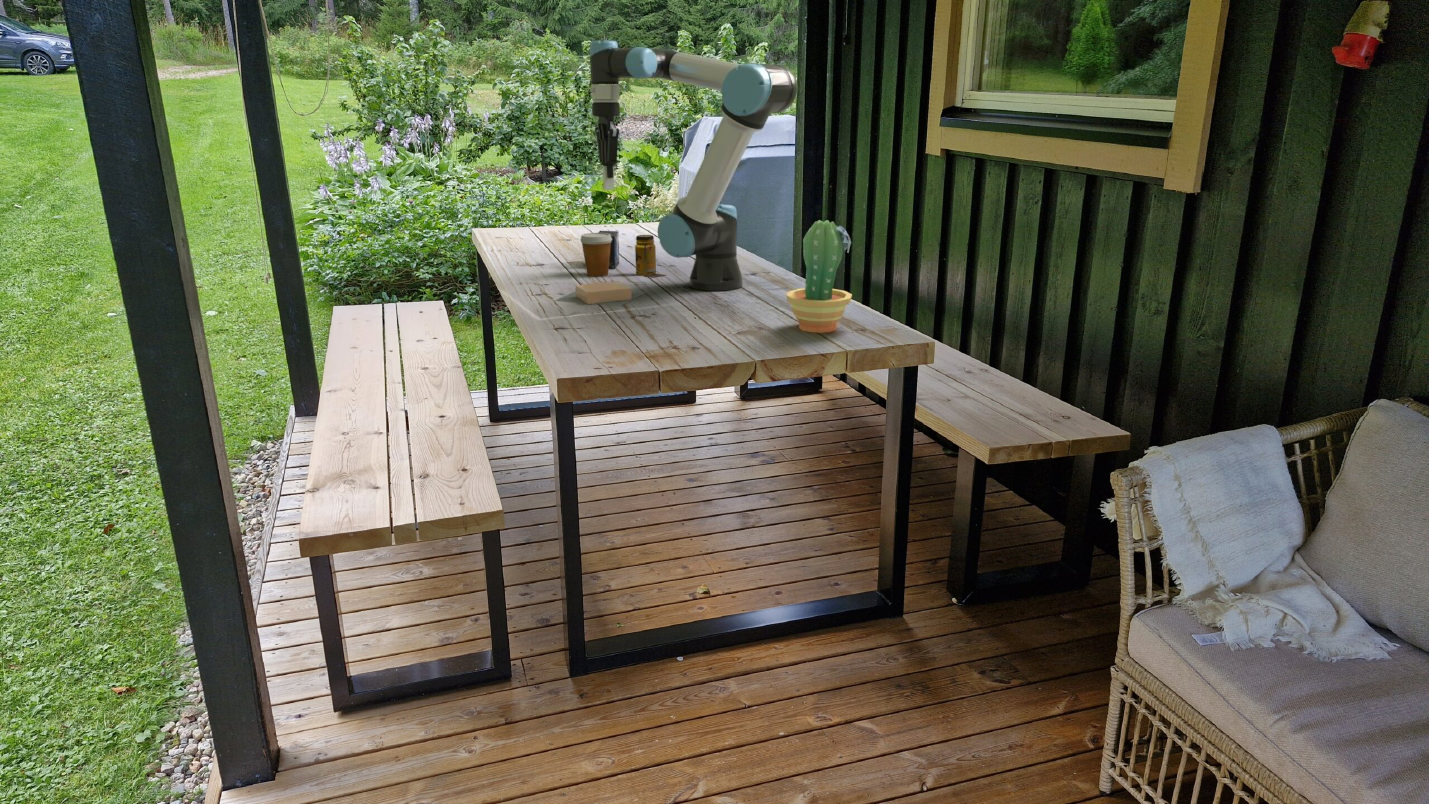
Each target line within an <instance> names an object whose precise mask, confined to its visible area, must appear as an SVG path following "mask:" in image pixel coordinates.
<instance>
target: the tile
mask: <svg viewBox="0 0 1429 804" xmlns="http://www.w3.org/2000/svg"><path fill="white" fill-rule="evenodd" d="M574 286H575V289H574V292H576V297H578V298H579V299H581V300H583V301H584V302H586V303H585V304H588V305H597V304H596V303H605V302H614V301H623V300H629V299H631V291H632V287H630V286H628V285H626V284H624V283H622V282H620V281H617V280H616V281H606V282H598V283H597V282H595V283H587V284H586V283H585V284H576V285H574Z"/></svg>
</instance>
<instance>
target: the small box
mask: <svg viewBox="0 0 1429 804" xmlns="http://www.w3.org/2000/svg"><path fill="white" fill-rule="evenodd" d="M597 233H608V234H610V235H611V238H612V240H611V246H610V258H609V270H613V269H614V270H615V269H617V267H618V265H619V264H620V236H619V234H620V233H619V230H616V231H615V230H599V231H598V232H597Z"/></svg>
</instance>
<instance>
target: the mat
mask: <svg viewBox="0 0 1429 804" xmlns="http://www.w3.org/2000/svg"><path fill="white" fill-rule="evenodd" d="M646 293H647V292H646V291H633V290H631V299H629V300H623V301H614V302H605V303H596V304H595V305H604V306H614V307H616V306H617V307H618V306H619V307H622V306H624V305H625V304H628V303H629V302H631V301H632V300H635V299H637V298H638V297H641V296H642V295H644V294H646ZM554 302H566V303H577V304H578V303H580V304H587V303H586V302H584V301H583V300H581V299H579V298H578V297H576V292H575V291H573V292H571V293H568V294H566V295H564V296H562V297H559V298H557V299H555V300H554Z"/></svg>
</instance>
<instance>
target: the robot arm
mask: <svg viewBox="0 0 1429 804" xmlns="http://www.w3.org/2000/svg"><path fill="white" fill-rule="evenodd" d="M618 45H619V44H618V42H617V41H616V40H607V39H605V40H592V41H591V42H590V44H589V58H588V59H589V67H590V80H591V81H590V84H591V86H590V87H591V88H589V91H590V93H591V100H592V101H593V102H592V103H591V109H592V110H591V111H592V112H591V114H592V116H593V117H596V118H597V117H598V123H597V126H595V127H594V132H595V136H596V143H597V152H598V161H599V163H601V166H602V183H603V184H602V185H603V190H604V191H615V169H614V168H615V166H616V165H617V163H618V145H619V134H620V129H619V128H617V125H616V120H615V117H620V115H621V107H620V106H621V105H620V103H619V100H620V95H621V94H620V79H639V80H640V79H663V80H667V81H673V82H678V83H682V84H688V85H691V86H695V87H700V88H705V89H710V90H713V91H714V90H715V91H717V92H720V94H721V95H722V97H721V101H722V103H721V106H720V112H721V114H722V118H721V120H720V122H719V124H718V127H717V129H716V131H715V133H714V136H713V138H712V140H711V142H710V144H709V147H708V148H707V151H706V153H705V155H704V156H703V159H702V161H701V164H700V166H699V168H698V171H697V172H696V175H695V177H694V179H693V181H692V183H691V185H690V187H689V190H688V192H687V194H686V196H683V197H680V198H678V200H677V202H676V204H675V206H674V208H673V210H672V212H671V213H668V214H666V215H664V216H663V217H661V219H660V221H659V222H658V226H657V238H658V239H659V244H660V246H661V247H662V250H664V251H665V253H667V255H669V256H671V257H673V258H688V257H691V256H695V259H694V263H693V266H692V268H691V272H690V276H689V287H690V288H693V289H696V290H703V291H711V292H712V291H716V292H717V291H731V290H737V289H740V288H742V287H743V280H744V279H743V275H742V274H743V273H742V271H741V269H740V265H739V263H738V258H737V249H738V248H737V245H738V241H737V239H738V238H737V237H738V235H737V234H738V230H737V229H738V215H737V214H738V211H737V207H736V206H734V205H731V204H722V203H721V204H720V202H721V201H722V199H723V196H724V195H725V192H726V190H727V188H728V186H729V184H730V182H731V181H732V178H733V176H734V175H735V172H736V170H737V168H738V166H739V164H740V161H741V160H742V158H743V156H744V154H745V151H746V150H747V147H748V145H749V144H750V141H751V139H752V137H753V135H754V134H755V133H756V132H758V131H762V130H763V128H764V127H765V125H766V122H767V120H768V119H769V117H770V116H771V114H778V113H782V112H784V111H786V110H788V109H789V108H790V107H791V106H792V105H793V103H794V102H795V100H796V98H797V95H798V89H799V88H798V86H799V85H798V82H797V78H796V77H795V74H794V73H793V72H792V70H791V69H789V68H788V67H786V66H785V65H781V64H777V63H776V64H775V63H774V64H773V63H771V64H770V63H769V64H768V63H766V64H765V63H757V62H747V63H743V64H741V63H736V62H731V61H725V60H721V59H717V58H710V57H706V56H700V55H696V54H695V55H694V54H690V53H685V52H679V51H677V50H675V49H673V48H650V47H643V46H642V47H641V46H638V47H637V46H636V47H624V48H623V47H622V48H620V47H619V46H618Z"/></svg>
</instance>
